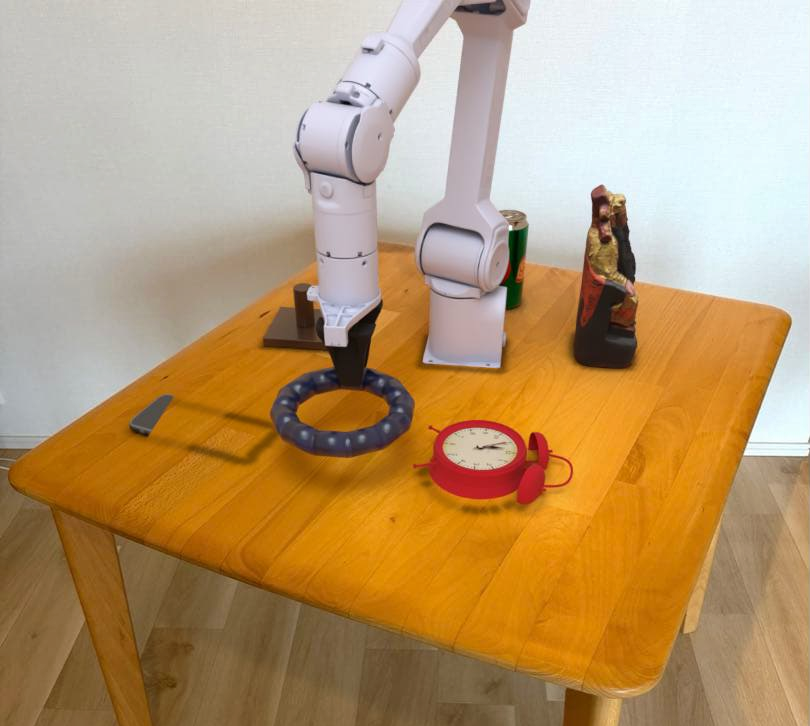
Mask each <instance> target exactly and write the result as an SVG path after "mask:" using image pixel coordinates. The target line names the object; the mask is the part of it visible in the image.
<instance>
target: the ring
mask: <svg viewBox="0 0 810 726" xmlns="http://www.w3.org/2000/svg"><path fill="white" fill-rule="evenodd" d="M339 390H340V391H354V392H356V391H357V392H365V393H368V394H370V395H373V396H375V397H378V398H380V399H382V400H384V402H385V403H386V404H387V407H389V408H388V412H387V415H385V416H384V417H383V418H381V419H379V421H377V422H376V423H375V424H373V425H369V426H366V427H361V428H357V429H353V430H349V431H339V430H325V429H319V428H316V427H313V426H311V425H309V424H307V423H306V422H302V421H301V420H300V418H299V416H298V414H297V413H298V410H299V408H300V406H301V405H302V404H304V403H305V402H307V401H309V400H310V399H311V398H313V397H315V396H318V395H322V394H323V395H324V394H326V393H332V392H336V391H339ZM415 408H416V401H415V399H414V397H413V396H412V395H411V393H410V392H409V390H407V388H406V387H405V385H404V384H403V383H402V381H400V380H399V378H396V377H394V376H391V375H389V374H387V373H384V372H382V371H379V370H376V369H374V368H372V367H366V368H365V367H364V373H363V378H362V381H361V385H360V386H359V387H356V386H341V385H340V383H339V380H338V378H337V375H336V371H335V368H334V366H330V367H329V366H328V367H325V368H320V369H316V370H312V371H311V370H310V371H307V372H305V373H302V374H301V375H300V376H298V377H296V378H295V379H293V380H291V381H290V382H288V383H286V384H285V385H284V386H282V387H280V389H279V390H278V392H277V394H276V396H275V399H274V401H273V404H272V406H271V408H270V410H269V417H270V420H271V422H272V424H273V426H274V428H275V430H276V433H277V434H278V436H279V437H280V439H281V440H282V441H283V442H284V443H285V444H288V445H290V446H292V447H294V448H296V449H298V450H300V451H302V452H304V453H306V454H309V455H310V456H315V457H326V458H327V457H328V458H341V459H351V458H356V457H359V456H364V455H368V454H371V453H375V452H380V451H384V450H385V449H387V448H388V447H390V446H391V445H392V444H394V443H395V442H396V441H397V440H398V439H400V438H401V437H402V436H404V435H405V434H407V432H409V431H410V429H411V426H412V422H413V417H414V414H415Z"/></svg>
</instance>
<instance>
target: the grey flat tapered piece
mask: <svg viewBox="0 0 810 726" xmlns="http://www.w3.org/2000/svg"><path fill="white" fill-rule="evenodd" d="M174 397H175V395H174V394H171V393H170V394H169V393H165V394H162V395H160V396H157V398H155V399H154V400H153V401H152V402H150V403H149V404H147V406H146V407H144V408H143V409H142V410H141V411H139V412H138V413H137V414H136V415H134V417H132V418H131V419H130V421H129V423H128V426H129V428H130V430H132V431H134V432H137V433H140V434H144V435H148V436H150V434H151V433H152V431H153V430H154V428H155V427H156V425H158V422H159V420H161V417H162V416H163V414H164V413H165V411H166V410H167V408H168V407H169V405H170V404H171V402H172V400H173V399H174Z"/></svg>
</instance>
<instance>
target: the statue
mask: <svg viewBox="0 0 810 726" xmlns="http://www.w3.org/2000/svg"><path fill="white" fill-rule="evenodd" d="M590 200H591V222H590V223H591V224H590V227H589V228H588V230H587V234H586V240H585V250H584V256H583V266H582V275H581V283H580V284H581V285H580V289H579V290H580V291H579V298H578V304H577V312H576V319H575V332H574V338H573V355H574V359H575V360H576V361H577V362H578V363H579V364H581V365H584V366H588V367H597V368H598V367H600V368H612V369H613V368H614V369H623V368H626V367H630V366H631V364H632V362H633V360H634V357H635V355H636V351H637V348H638V339H637V336H636V332H637V331H636V325H637V321H636V318H637V317H636V316H637V311H638V306H639V294H638V292H637V290H636V288H635V282H636V276H635V275H636V272H637V271H636V270H637V262H636V258H635V253H634V252H633V250H632V246H631V241H630V232H631V230H630V228H629V224H628V221H629V218H628V211H627V207H626V203H627V199H626V196H625V194H623V193H613V192H612V191H611V190H608V189H607V188H606V186H605V185H604V184H599V185H597V186H595V187H594V188H593V189H592V190H591V192H590Z"/></svg>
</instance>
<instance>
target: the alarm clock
mask: <svg viewBox="0 0 810 726" xmlns="http://www.w3.org/2000/svg"><path fill="white" fill-rule="evenodd" d="M427 428H428V430H430V431H431V430H432V431H434V432H436V433H437V435H436V437H435V440H434V441H433V445H432V450H433V451H432V453H433V455H432V457H431V459H430V460H429V462H425V463H420V464H417V463H414V464H413V465H412V467H413V469H417V468H420V467H428V472H429V476H430V478H431V480H432V481H433V482H434V484H436V485H437V486H438V487H439V488H440V489H442V490H443V491H445V492H447V493H449V494H452V495H454V496H456V497H459V498H464V499H470V500H493V499H498V498H502V497H503V498H504V497H506V496H509V495H511V494H513V493H514V492H516V491H517V493H516V494H517V495H516V502H517V503H518V504H523V505H528V504H531V503H533V502H534V501H536V500H537V499H538V498H539V496H540V495H541V494H542V493H543V492H546V491H547V489H548V488H549V489H551V488H552V489H553V488H562V487H565V486H566V485H568V484H569V483H570V482H571V481H572V479H573V475H574V466H573V463H572V462H571V461H570V460H569V459H567V458H566V457H564V456H562V455H557V454H553V453H554V450H553V449H550V448H549V444H548V440H547V438H546V437H545V435H544V434H543V433H541V432H538V431H532V432H531V433H530V434H529V437H528V444H526V442H525V439H524V438H523V436H522V435H521V434H520V433H519V432H518V431H516V430H515V429H514V428H512V427H510V426H509V425H506V424H504V423H500V422H496V421H492V420H487V419H468V420H462V421H458V422H454V423H452V424H449V425H447V426H446V427H444V428H443V429H441V430H439V429H437V428H435V427H434V426H433V425H431V424H430V425H428V427H427ZM527 445H528V446H527ZM527 447H528V448H527ZM528 451H537V452H538V459H537V460H527V456H528ZM550 458H555V459H559V460H562V461H564V462H566V463H567V464H568V466H569V468H570V472H569V473H570V474H569V477H568V479H567V480H566V481H565V482H563V483H559V484H545V483H546V473H545V470H546V469H547V468H548V465H549V461H550ZM527 464H528V465H529V464H531V465H529V467H528V465H527Z"/></svg>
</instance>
